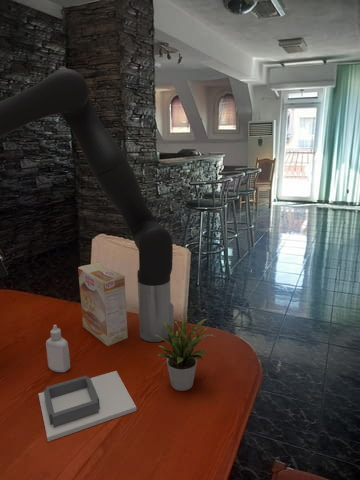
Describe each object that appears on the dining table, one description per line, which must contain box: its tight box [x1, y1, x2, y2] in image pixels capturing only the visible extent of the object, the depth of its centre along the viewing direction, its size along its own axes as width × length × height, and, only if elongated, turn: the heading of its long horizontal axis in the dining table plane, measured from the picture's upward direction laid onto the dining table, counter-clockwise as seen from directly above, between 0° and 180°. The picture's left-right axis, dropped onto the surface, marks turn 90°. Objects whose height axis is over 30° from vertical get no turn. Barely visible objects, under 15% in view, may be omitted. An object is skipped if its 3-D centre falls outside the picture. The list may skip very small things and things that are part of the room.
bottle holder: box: [38, 370, 137, 442], centre depth 80 cm, size 18×14×4 cm
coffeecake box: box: [77, 262, 129, 347], centre depth 107 cm, size 15×7×20 cm, turn 41°
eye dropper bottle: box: [45, 324, 71, 373], centre depth 91 cm, size 4×6×12 cm
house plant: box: [155, 313, 216, 392], centre depth 85 cm, size 14×14×16 cm
